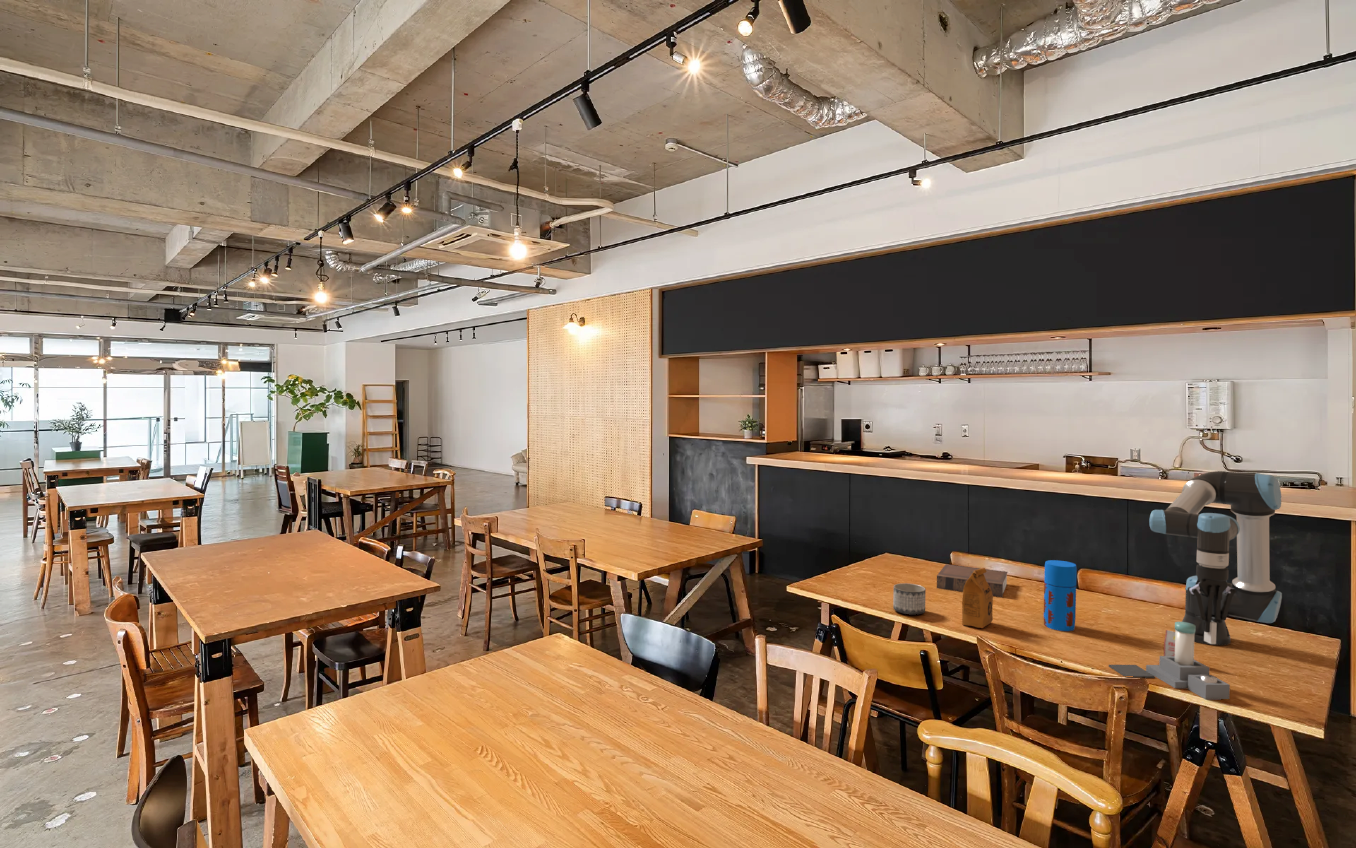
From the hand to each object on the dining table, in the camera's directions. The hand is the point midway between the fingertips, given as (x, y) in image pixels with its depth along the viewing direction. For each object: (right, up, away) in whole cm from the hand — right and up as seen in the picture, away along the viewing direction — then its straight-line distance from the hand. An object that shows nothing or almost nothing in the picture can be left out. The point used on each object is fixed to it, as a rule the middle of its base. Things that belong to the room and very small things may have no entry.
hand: (1209, 642), depth 200 cm
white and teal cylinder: (0, -14, +10) cm, 17 cm away
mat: (-12, -15, +17) cm, 26 cm away
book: (-21, -12, +115) cm, 118 cm away
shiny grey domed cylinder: (0, -16, +1) cm, 16 cm away
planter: (-64, -13, +78) cm, 101 cm away
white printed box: (+9, -15, +25) cm, 31 cm away
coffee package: (-42, -14, +62) cm, 76 cm away
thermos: (-11, -14, +60) cm, 62 cm away
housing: (0, -16, +7) cm, 17 cm away
